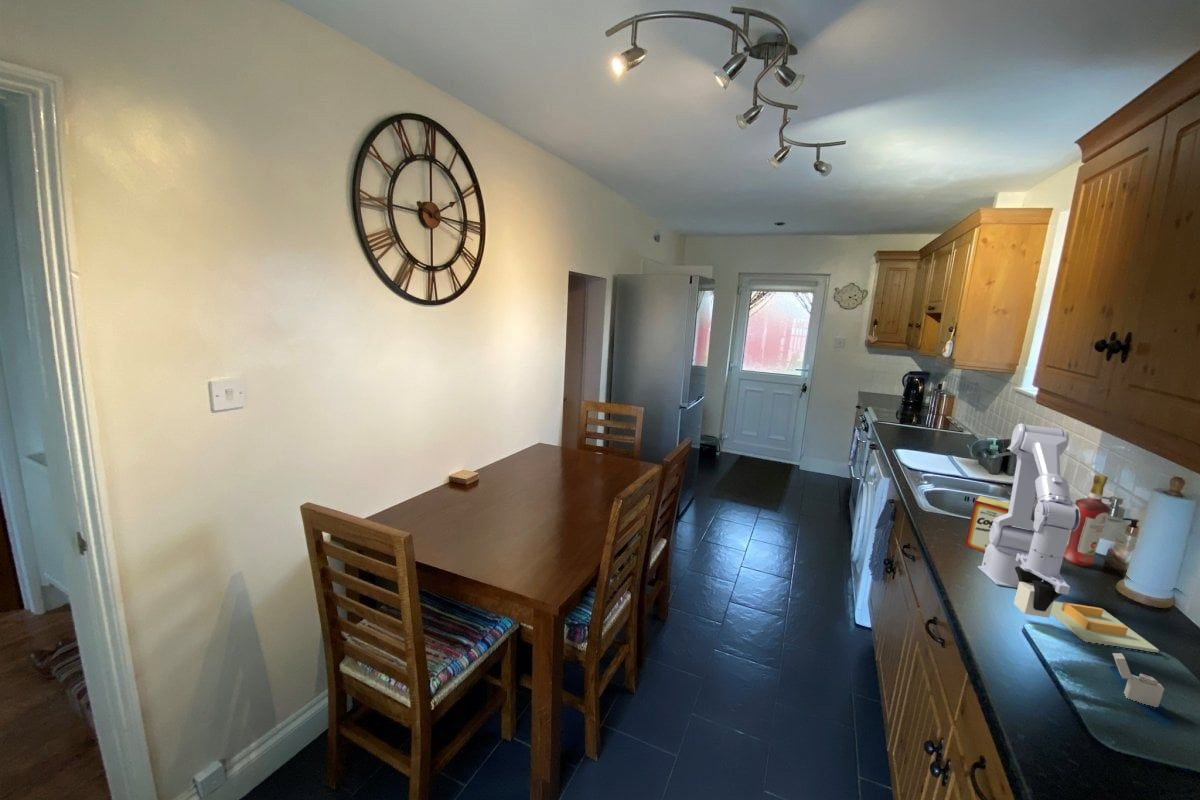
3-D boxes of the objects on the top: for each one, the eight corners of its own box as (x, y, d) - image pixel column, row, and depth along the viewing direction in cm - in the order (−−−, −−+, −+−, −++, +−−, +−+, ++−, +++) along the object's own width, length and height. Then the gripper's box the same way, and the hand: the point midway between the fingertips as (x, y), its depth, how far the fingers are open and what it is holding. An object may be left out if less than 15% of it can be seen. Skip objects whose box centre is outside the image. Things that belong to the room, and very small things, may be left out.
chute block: (1013, 603, 114) (1019, 581, 113) (1037, 607, 114) (1043, 584, 112) (1024, 613, 111) (1030, 590, 109) (1049, 617, 110) (1055, 594, 108)
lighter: (1154, 703, 89) (1166, 666, 88) (1157, 709, 88) (1170, 672, 86) (1101, 685, 93) (1112, 650, 92) (1104, 690, 92) (1116, 655, 90)
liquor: (1076, 556, 147) (1099, 472, 142) (1101, 569, 140) (1127, 480, 135) (1053, 555, 147) (1076, 470, 141) (1077, 568, 140) (1102, 479, 134)
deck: (1037, 602, 121) (1040, 591, 120) (1101, 612, 118) (1104, 601, 118) (1083, 641, 106) (1087, 630, 106) (1157, 653, 104) (1161, 642, 103)
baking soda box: (964, 546, 150) (975, 499, 147) (968, 540, 154) (979, 494, 151) (1002, 558, 143) (1014, 509, 140) (1005, 552, 147) (1017, 504, 144)
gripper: (1007, 534, 117) (995, 584, 119) (1049, 565, 103) (1034, 620, 105) (1039, 539, 115) (1026, 588, 118) (1087, 570, 101) (1070, 625, 104)
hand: (1032, 604), depth 112 cm, fingers closed on chute block, 4 cm apart
